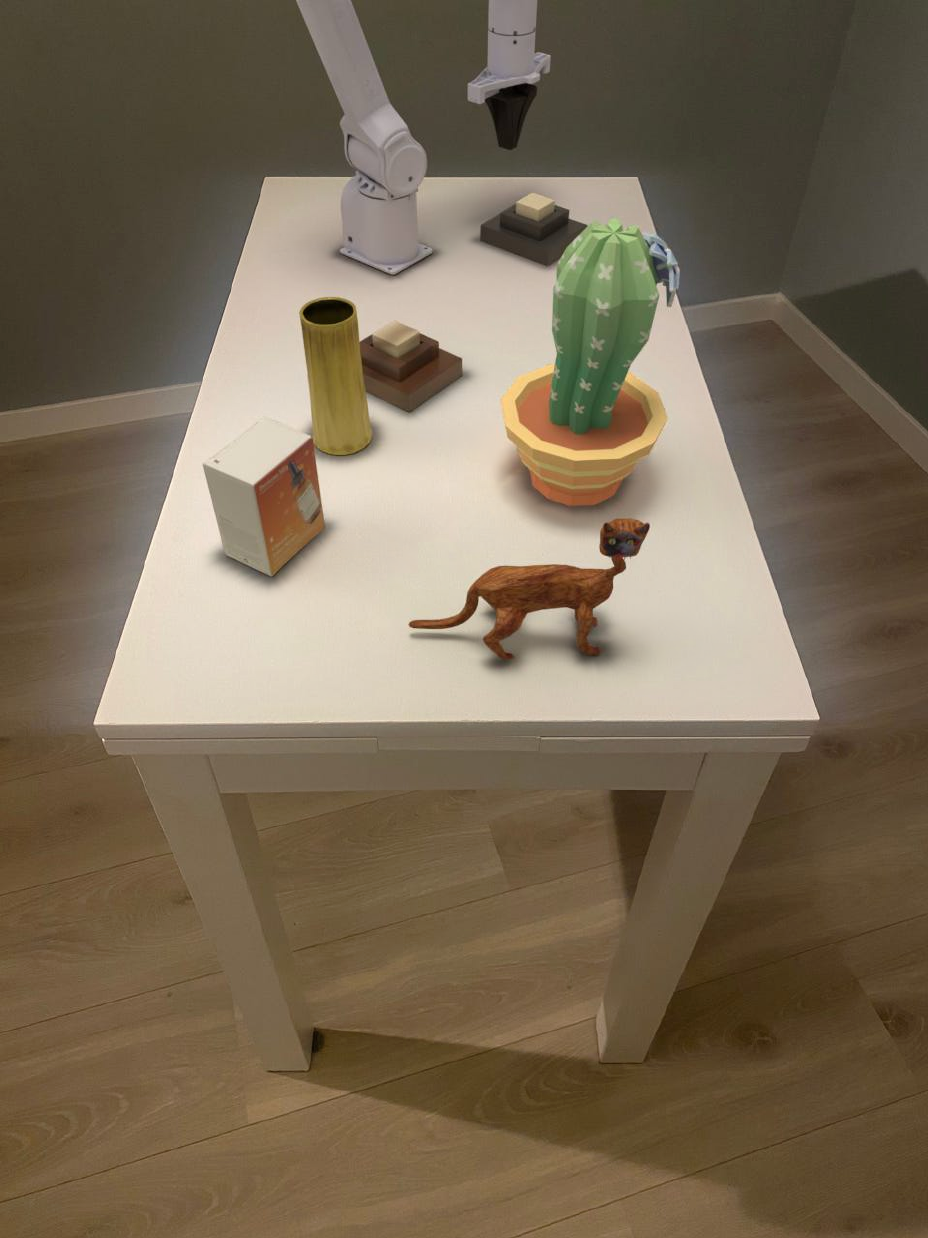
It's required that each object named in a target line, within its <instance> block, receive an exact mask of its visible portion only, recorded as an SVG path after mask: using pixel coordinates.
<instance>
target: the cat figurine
mask: <svg viewBox="0 0 928 1238" xmlns="http://www.w3.org/2000/svg"><path fill="white" fill-rule="evenodd" d="M650 528H651V525H650V522H647V521H646V522H645V523H644V522H643V521H641V520H638V519H637V518H636V519H635V518H632V517H631V518H630V517H628V518H627V517H625V518H623V517H619V518H618V517H617V518H615V519H612V520H610V521H605V522H604V523H603V525H602V526H601V529H600V531H599V547H598V548H599V552H600V554H601V555H602V556H605V557H608V558H611V559H610V560H611V562H612V564H613V566H611V567H610V568H582V567H578V566H575V565H568V564H559V563H557V564H556V563H555V564H554V563H553V564H535V565H533V564H532V565H498V566H494V567H491V568H489V569H488V570H486V571H485V572H484V573H482V574H481V575H480V576H479V577H478V578H477V579H476V580H475V581H474V582H473V583H472V584H471V585H470V587H469V589H468V590H467V592H466V598H465V604H464V606H463V608H462V610H461V611H460V612H459V613H457V614H456V615H453V616H449V617H445V618H439V619H438V618H437V619H413V620H411V621H409V622H408V627H409V628H411V629H420V630H445V629H451V628H454V627H458V626H460V625H462V624H465V623H466V622H467V621H468V620H470V618H472V616H473V615H474V614H475V613H476V611H477V609H478V606H479V601H480V600H479V599H480V597H481V598H482V599H483V600H484V601H485V602H486V603H487V604H488V605H489V606H490V607H491V608H492V609H493V611H494V612H495V613H496V620H495V623H494V625H493V628H492V629H491V630H490V631H489V632H488V633H487V634H485V635H484V636H483V637H482V638H481V640H482V642H483V643H484V644H485V646H487V648H488V649H490V650H491V651H492V652H493V653H495V654H496V655H497V657H498V658H500V659H501V660H513V659H515V658H516V656H515V655H514V654H513V653H512V652H506V651H505V649H504V648H503V646H502V644H501V643H500V642H501V641H503V640H506V639H507V638H509V637H511V636H512V635H513V634H515V633H516V632H517V631H518V630H519V629H520V627H521V626H522V625H523V622H524V620H525V618H526V616H527V615H528V614H530V613H534V612H538V611H539V612H540V611H542V610H553V609H561V608H562V609H564V608H567V609H570V610H574V618H575V621H576V622H577V623H579V624H578V628H577V633H576V645H577V648H578V649H579V651H581V652H582V653H583V654H586V655H589V656H600V655H601V653H602V649H601V648H600V647H599V646H594V645H592V644H591V643H590V641H589V640H588V637H589V635H590V634H591V632H592V630H593V628H594V627H596V626H597V625H598V624H599V621H598V620H599V619H598V618H597V617H596V616H594V609H595V608H598V606H600V605H601V604H603V603H605V602H606V601H607V600H609V598H611V595H612V594H613V590H614V580H615V579H614V578H615V577H616V576H617V575H619V574H621V573H623V572H625V570H627V564H626V561H625V560H626V558H629V559H630V560H631V559H632V557H637V555H638V554H639V553H640V550H641V547H642V545H643V543H644V541H645V539H646V537H647V535H648V533H649V531H650Z"/></svg>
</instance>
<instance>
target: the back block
mask: <svg viewBox="0 0 928 1238" xmlns="http://www.w3.org/2000/svg"><path fill="white" fill-rule="evenodd" d="M588 225H589V224H586V223H583V222H580V221H578V220H574V219H572V218H570V209H568V208H565V207H562V206H560V205H556V204H555V205H554V213H552V214H550V215H549V216H547V217H546V218H544V219H542V220H541V221H539V222H538V221H535V220H533V219H530V218H527V217H524V216H521V215H519V214H516V203H515V204H513V205H511V206H510V207H508V208H506V209H504V210H503V211H501V212H500V213H499V214H497V215H495V216H493V217H492V218H490V219H488V220H486V221H485V222H483V223H481V224H480V226H479V227H480V228H479V241H480V242H482V243H484V244H486V245H487V244H488V245H490V246H492V247H495V248H498V249H501V250H502V251H506V252H509V253H511V254H514V255H517V256H518V257H522V258H524V259H527V260H530V261H531V262H535V263H537V264H540V265H543V266H545V267H549V266H550V265H552V264H554V263H555V262H556V261H559V260H560V259H561V257H562V255H563V253H564V251H565V250H566V248H567V247H568V246H569V245H570V244H571V243H572V242H573V241H574V240H575V239H576V238H577V237H578V236H579V235H580V234H581V233H582V232H583V231H584V229H585V228H586V227H587V226H588Z"/></svg>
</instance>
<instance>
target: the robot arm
mask: <svg viewBox="0 0 928 1238" xmlns="http://www.w3.org/2000/svg"><path fill="white" fill-rule="evenodd" d="M295 2H296V4H297V6H298V8H299V11H300V13H301V15H302V18H303V20H304V23H305V25H306V27H307V29H308V32H309V35H310V36H311V37H310V38H311V39H312V41H313V44H314V46H315V48H316V51H317V54H318V55H319V58H320V60H321V62H322V64H323V68H324V69H325V72H326V74H327V76H328V79H329V81H330V83H331V86H332V89H333V90H334V93H335V95H336V97H337V100H338V103H339V105H340V107H341V109H342V111H343V116H342V118H341V119H340V121H339V126H340V129H341V131H342V134H343V138H344V139H343V140H344V145H343V146H344V149H343V151H344V155H345V159H346V161H347V162H348V164H349V166H350V167H352V168H353V169H354V170H355V175H354V176H352V177H351V178H350V179H349V180H348V181H347V182H346V183H345V184H344V187H343V189H342V192H341V197H340V213H341V223H342V224H341V225H342V235H343V244H344V247H342V248H340V249H339V251H340V254H342V255H344V256H346V257H349V258H351V259H353V260H356V261H357V262H358V261H359V262H361V263H363V264H365V265H368V266H370V267H373V268H375V269H377V270H379V271H382V272H384V273H387V274H389V275H393V276H394V275H396V274H398V273H400V272H401V271H404V270H405V269H407V268H409V267H411V266H412V265H414V264H416V263H417V262H419V261H421V260H422V259H425V258H426V257H427V256H429V255H432V254H433V251H434V249H433V248H432V247H429V246H426V245H425V244H422V243H420V242H419V230H418V229H419V228H418V227H419V226H418V200H417V199H418V198H417V193H418V192H419V187H420V186H421V184H422V183H423V181H424V179H425V176H426V174H427V169H428V156H427V153H426V151H425V149H424V147H423V146H422V144H420V142H418V141H416V140H415V138H414V137H413V136H412V133H411V132H410V129H409V126H408V125H407V123H406V122H405V121H404V119H403V118H402V117H401V116H400V115H399V113H398V112H397V111H396V109H395V108H394V106H393V105H392V104H391V102H390V99H389V97H388V95H387V91H386V89H385V86H384V84H383V82H382V79H381V76H380V74H379V71H378V68H377V66H376V63H375V61H374V58H373V55H372V53H371V49H370V47H369V44H368V42H367V39H366V37H365V34H364V32H363V28H362V26H361V23H360V20H359V18H358V15H357V13H356V10H355V8H354V5H353V2H352V0H295ZM537 13H538V0H488V16H487V17H488V20H487V21H488V22H487V24H488V26H487V27H488V28H487V63H486V64H487V66H486V67H485V68H484V69H483V70H482V71H481V72H480V73H479V74H478V75H477V76H476V78H475V79H473V80H472V81H470V82H468V83H467V101H468V102H471V103H474V104H478V105H482V104H484V103H486V106H487V108H488V110H489V113H490V115H491V118H492V122H493V126H494V130H495V135H496V140H497V145H498V147H499V148H501V149H505V150H508V151H512V150H514V149H516V148H517V146H518V143H519V140H520V137H521V133H522V129H523V126H524V123H525V120H526V117H527V114H528V112H529V109H530V108H531V105H532V104H533V101H534V100H535V99H536V97H537V94H538V87H537V85H535V83H538V82H540V80H541V74H542V75H543V74H544V75H546V74H548V73H550V72H551V60H552V59H551V57H552V56H551V55H550V54H547V53H543V52H540V51H538V52H536V53H535V48H536V32H537V30H536V29H537Z"/></svg>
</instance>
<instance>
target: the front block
mask: <svg viewBox="0 0 928 1238" xmlns="http://www.w3.org/2000/svg"><path fill="white" fill-rule="evenodd" d="M385 326H386V325H385ZM385 326H383V327H385ZM372 334H373V333H371V334H370V335H368V336H366V337H365V338H363V339H361V340H359V342H360V353H361V360H362V368H363V375H364V381H365V389H366V393H368V394H370V395H372V396H375V398H376V397H377V398H379V399H380V400H382V401H384V402H386V403H388V404H390V405H392V406H393V407H394V406H395V407H396V408H398V409H401V410H402V411H404V412H406V413H408V414H409V413H412V412H413V411H414V410H415V409H417V408H418V407H420V406H421V405H423V404H424V403H425V402H427V401H428V400H429V399H431V398H433V397H434V396H435V395H437V394H439V392H441V391H442V390H444V389H445V388H447V387H448V386H450V385H451V384H452V383H454V382H455V381H457V380H458V379H460V378H461V377H462V376H463V357H460V356H458V355H456V354H454V353H452V352H449V351H447V350H445V349H442V348H440V342H439V341H438V340H436V339H434V338H432V337H429V336H428V335H425V334H423V333H421V332H420V345H419V346H417V347H416V348H414V349H413V350H411V351H410V352H408V353H406V354H405V355H403V356H402V357H400V358H399V359H397V358H395V357H393V356H391V355H389V354H387V353H384V352H382V351H380V350H378V349H376V348H374V347H373V337H372Z"/></svg>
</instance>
